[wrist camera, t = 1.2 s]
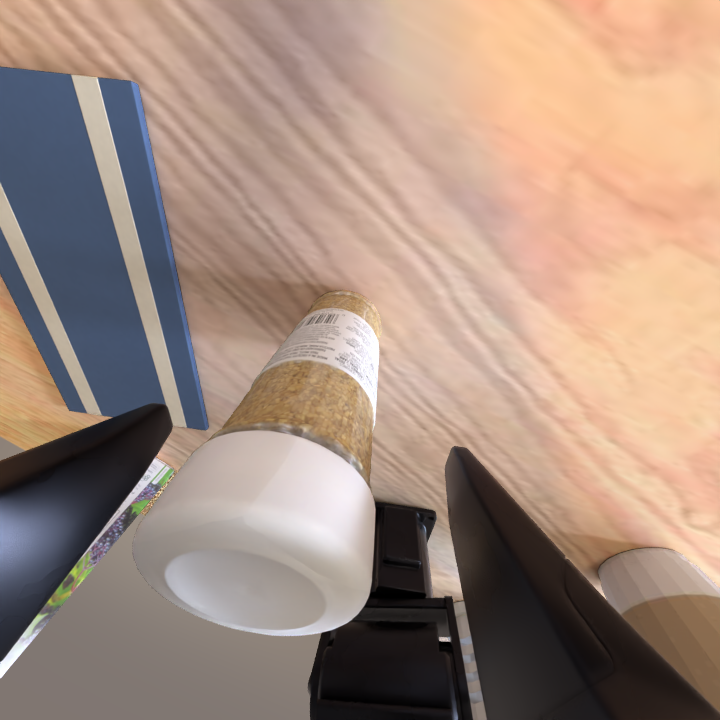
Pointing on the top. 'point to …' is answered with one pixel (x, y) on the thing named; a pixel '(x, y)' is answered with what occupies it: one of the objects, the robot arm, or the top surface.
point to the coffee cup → (670, 611)
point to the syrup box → (95, 553)
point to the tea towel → (92, 245)
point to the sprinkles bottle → (280, 489)
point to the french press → (469, 662)
